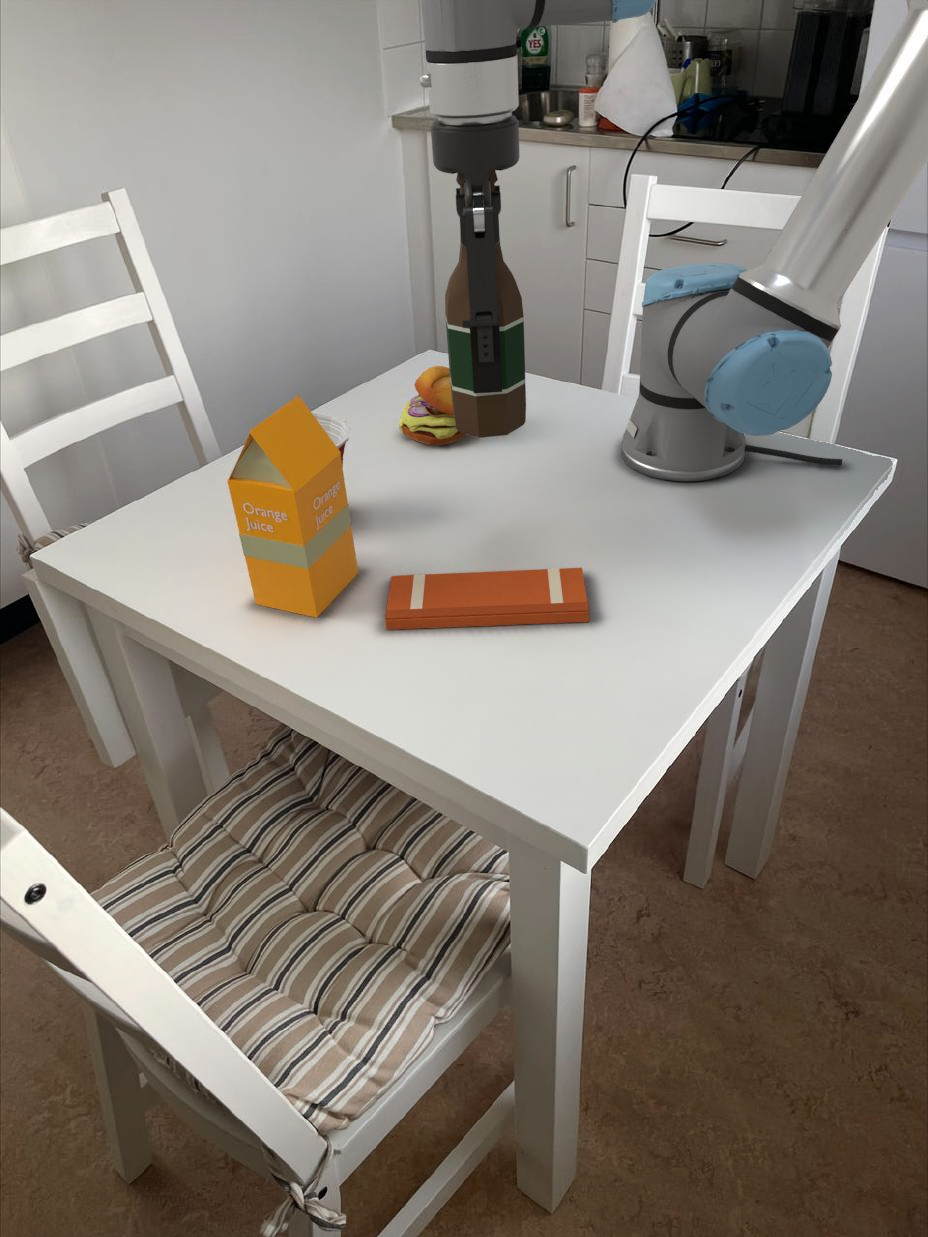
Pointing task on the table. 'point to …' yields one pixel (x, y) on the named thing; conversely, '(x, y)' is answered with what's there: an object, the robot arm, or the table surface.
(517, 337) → the beer bottle
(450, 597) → the towel
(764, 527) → the table surface
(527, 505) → the table surface
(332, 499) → the orange juice
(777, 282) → the robot arm
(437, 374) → the cheeseburger
